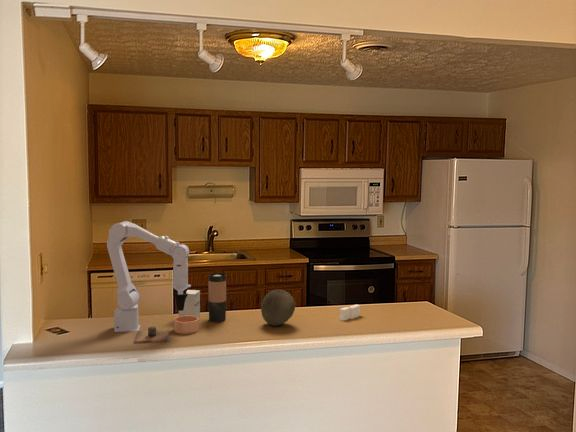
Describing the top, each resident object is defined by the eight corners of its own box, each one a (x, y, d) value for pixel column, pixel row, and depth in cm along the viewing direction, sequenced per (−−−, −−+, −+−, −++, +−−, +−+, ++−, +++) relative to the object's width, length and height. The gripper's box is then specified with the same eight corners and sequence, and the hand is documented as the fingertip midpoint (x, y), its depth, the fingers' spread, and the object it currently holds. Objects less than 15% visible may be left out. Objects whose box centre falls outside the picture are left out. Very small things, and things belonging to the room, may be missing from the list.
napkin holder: (360, 314, 248) (360, 302, 247) (368, 321, 237) (369, 308, 236) (328, 315, 245) (329, 303, 244) (336, 323, 234) (336, 310, 233)
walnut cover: (134, 343, 202) (134, 333, 202) (137, 333, 214) (137, 323, 213) (167, 341, 204) (167, 332, 204) (168, 331, 216) (168, 322, 215)
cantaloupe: (266, 331, 219) (266, 295, 218) (257, 321, 233) (257, 287, 231) (299, 328, 224) (299, 293, 222) (288, 319, 237) (288, 285, 236)
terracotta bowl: (173, 335, 213) (173, 323, 213) (174, 327, 223) (174, 315, 223) (199, 334, 215) (199, 322, 214) (199, 326, 225) (198, 314, 224)
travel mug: (229, 319, 236) (229, 274, 234) (218, 323, 230) (218, 277, 228) (216, 316, 240) (216, 272, 238) (204, 320, 234) (204, 275, 232)
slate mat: (133, 345, 201) (132, 343, 201) (136, 334, 214) (136, 332, 214) (168, 343, 204) (168, 342, 204) (170, 332, 216) (170, 331, 216)
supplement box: (194, 323, 229) (194, 294, 228) (178, 322, 231) (177, 293, 230) (200, 318, 237) (200, 290, 235) (184, 317, 238) (184, 289, 237)
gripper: (190, 278, 210) (190, 312, 211) (190, 270, 224) (190, 302, 225) (172, 278, 208) (172, 313, 210) (173, 271, 223) (173, 303, 224)
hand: (180, 307), depth 217 cm, fingers open, 7 cm apart
